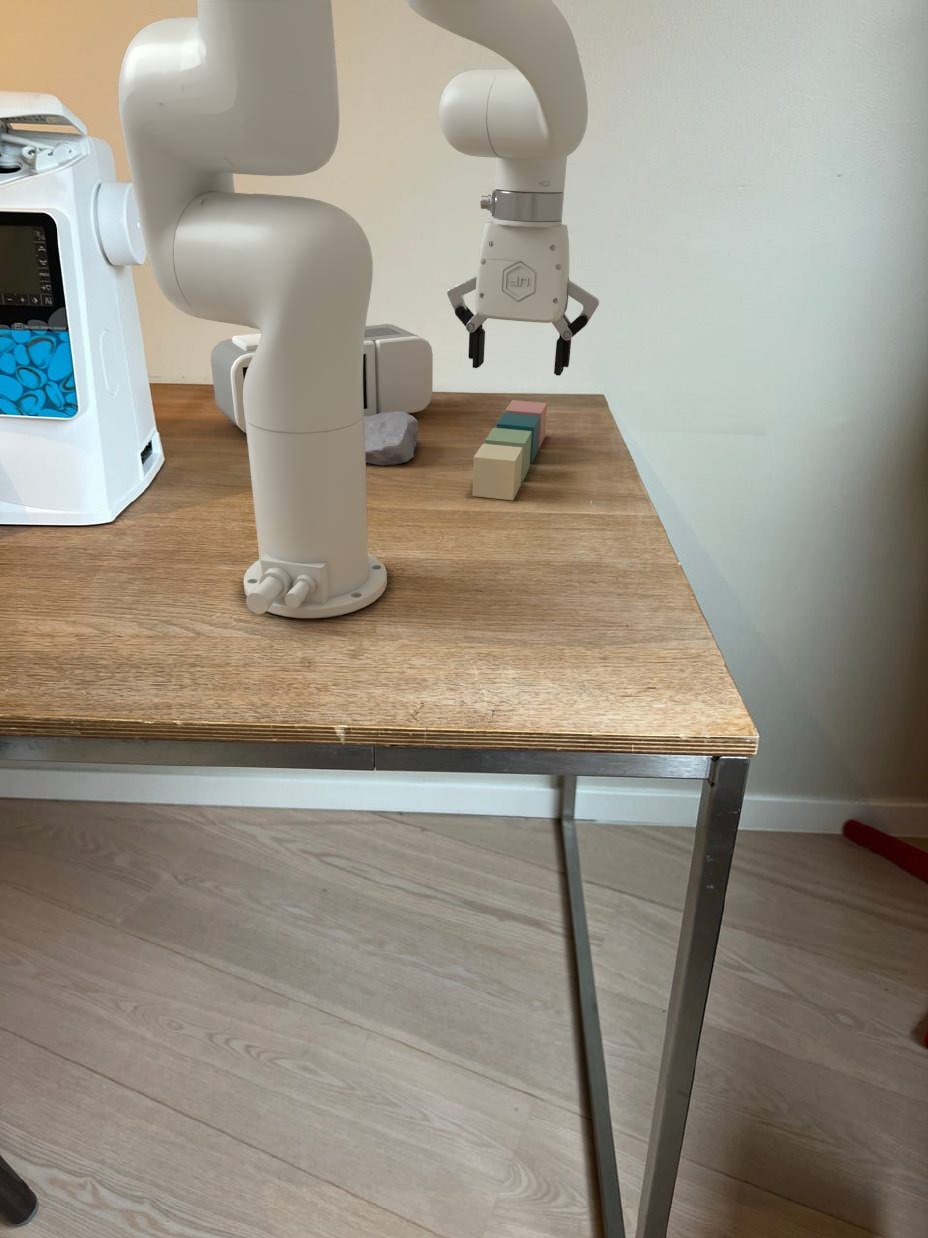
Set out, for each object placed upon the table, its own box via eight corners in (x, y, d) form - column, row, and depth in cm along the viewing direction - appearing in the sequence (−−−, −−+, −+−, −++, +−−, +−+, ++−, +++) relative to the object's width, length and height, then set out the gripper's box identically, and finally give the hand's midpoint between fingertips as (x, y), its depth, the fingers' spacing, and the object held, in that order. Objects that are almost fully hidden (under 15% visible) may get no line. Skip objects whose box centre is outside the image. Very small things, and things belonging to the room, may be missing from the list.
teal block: (531, 463, 109) (534, 426, 107) (494, 460, 110) (496, 423, 108) (537, 451, 113) (540, 415, 111) (502, 448, 114) (503, 412, 112)
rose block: (539, 448, 114) (541, 413, 112) (503, 445, 115) (505, 409, 113) (544, 437, 118) (547, 402, 116) (510, 434, 119) (512, 399, 117)
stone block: (410, 480, 108) (421, 438, 116) (407, 445, 105) (419, 404, 113) (313, 477, 110) (331, 436, 117) (307, 443, 106) (325, 402, 114)
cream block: (513, 500, 99) (515, 460, 97) (472, 496, 100) (473, 456, 98) (520, 485, 103) (522, 447, 101) (481, 481, 104) (482, 443, 102)
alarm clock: (240, 447, 112) (229, 350, 106) (218, 426, 119) (207, 334, 113) (433, 418, 124) (433, 329, 119) (402, 400, 131) (401, 316, 125)
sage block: (522, 481, 104) (524, 443, 102) (483, 477, 105) (485, 439, 103) (529, 468, 108) (531, 431, 106) (491, 464, 109) (493, 427, 107)
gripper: (442, 207, 96) (438, 369, 104) (604, 216, 93) (588, 383, 101) (458, 203, 102) (454, 356, 111) (611, 211, 99) (595, 368, 107)
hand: (518, 369), depth 106 cm, fingers open, 9 cm apart
